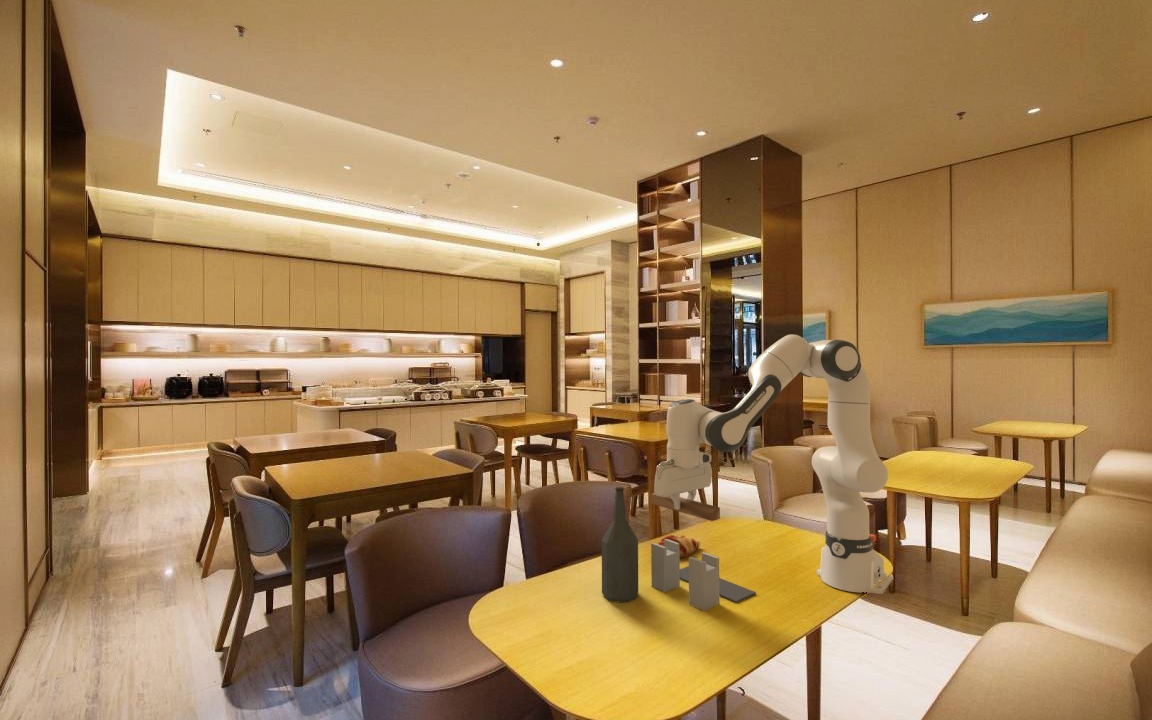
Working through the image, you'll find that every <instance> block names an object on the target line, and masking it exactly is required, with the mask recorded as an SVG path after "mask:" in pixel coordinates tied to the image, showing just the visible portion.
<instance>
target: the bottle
mask: <svg viewBox="0 0 1152 720" xmlns="http://www.w3.org/2000/svg"><path fill="white" fill-rule="evenodd" d="M614 489H615V496H614V497H615V498H614V509H613V519H612V521H611V523H610V525H609V527H608V528H607V530H606V532H605V534H604V535H603V537H602V539H601V593H602V595H603V597H605V598H606V599H607V600H608V601H610V600H611V602H615V601H616V602H618V603H628V602H631V601H632V600H636V598H637V597H638V594H639V538H638V537H637V534H636V533H635V531H634V530H633V528H632V527H631V525H630V523H629V522H628V520H627V514H626V513H627V512H626V504H625V503H626V502H625V493H624V490H625V488H624V486H616V487H615V488H614Z"/></svg>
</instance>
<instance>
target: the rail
mask: <svg viewBox="0 0 1152 720" xmlns="http://www.w3.org/2000/svg"><path fill="white" fill-rule="evenodd" d="M650 496H651V505H655V506H659V507H661V508H666V509H668V510H669V509H670V510H672V511H675V512H679V513H682V514H686V515H690V516H693V517H697V518H700V519H703V520H707V521H710V522H714V521H717V520H721V508H720V506H716V505H713V504H708V503H705V502H701V501H696V500H694V501H693V500H689V499H687V498H684V497H681V496H680V497H679V501H680V502H681V503H682V509H679V510H677V509H675V508H674V502H673V500H672V498H671V496H668V497H661V496H657V495H656V494H655V492H652V493H651V495H650Z"/></svg>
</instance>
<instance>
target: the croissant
mask: <svg viewBox="0 0 1152 720" xmlns="http://www.w3.org/2000/svg"><path fill="white" fill-rule="evenodd" d="M664 539H668V540H671V541H674V542H677V543H679V554H680V558H685V557H688V556H690V555H691V554H693V553H694V552H695V551H696V550H698V549H699V548H700V546H701V541H700V540H696V539H694V538H689V537H688V536H686V535H681V536H679V535H677V534H668V535H666V536H664V537H663V538H662V539H661V541H660V542H658V543H657V544H659V545H661V546H664Z"/></svg>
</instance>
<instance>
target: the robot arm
mask: <svg viewBox="0 0 1152 720" xmlns="http://www.w3.org/2000/svg"><path fill="white" fill-rule="evenodd" d="M798 374H800V375H801V376H803V377H807V378H814V379H815V378H816V379H825V380H826V382H827V385H828V397H827V428H828V430H829V432H830V433H831V435H832V436H833V438H834V443H835V445H827V446H822V447H819V448H818V449H816V450H815V452H814V453H813V454H812V457H811V466H812V467H811V468H813V469H812V470H813V471H814V472H815V473H816V475H817V477H818V480H819V482H820V485H821V489H822V493H823V496H824V497H823V498H824V499H825V500H824V501H825V506H826V507H825V508H826V531H825V535H824V539H825V543H824V544H825V545H824V546H823V547H821V552H820V553H821V556H820V567H819V568H817V569H816V574H817V575H818V576H819V577H821V579H820V580H822V581H823V583H825V584H826V585H828V586H829V587H832V588H835V589H838V590H841V591H846V592H850V593H861V594H863V593H862V592H864V593H866V592H867V593H870V594H879V595H882V594H884V593H885V592H886V590H887V589H888V587H889V585H891V583H892V581H893V580H894V576H893V574H891V573H890V574H891V575H890V576H889V577H887V576H886V575H887V573H886V572H887V571H886V570H885V561H884V558H883V557H882V555H880V554H879V552H877V551H876V550H875V549H874V545H873V543H874V542H876V540H877V536H876V534H873V533H872V534H871V533H870V511H869V507H868V505H867V504H866V503H865V501H864V499H863V498H862V495H861V493H871V494H873V493H877V492H880V491H881V490H883V488H885V486H886V485H887V482H888V479H889V472H888V469H887V466H886V465H885V463H884V462H883V461H882V460H881V458H880V456H879V454H878V452H877V450H876V446H875V445H874V440H873V437H872V436H873V435H872V432H871V431H872V430H871V389H870V380H869V376H868V373H867V370H865V368H863V367H862V362H861V355H860V352H859V350H858V348H857V347H856V345H854V344H853V343H852V342H850V341H847V340H843V339H822V340H818V341H811V342H810V341H809V342H808V341H807V340H806V339H805V338H803V337H802V336H800V335H798V334H787V335H785V336H783V337H782V338H780V339H778V340H777V341H776V342H774V343H773V344H772V345H770V346H769V347H767V348H766V349H765V350H764V351H763V352H762V353H761V354H759V356H757V357H756V359H755V360H754V361H753V363H751V366H749V368H748V381H749V383H750V384H751V389H750V390H749V392H747V394H746V395H745V396H744V397H743V398H742V399H741V400H740V401H739V402H738V403H737V404H736V406H734V408H732V409H731V410H729V411H726V412H721V411H719V410H718V411H717V410H714V409H711V408H708V407H706V406H704V405H702V404H700V403H699V402H697V401H696V400H695V399H692V398H691V399H689V398H685V399H679V400H675V401H673V402H672V403H670V404H669V406H668V408H667V413H666V435H667V444H666V461H661V462H659V464H658V465H657V466H656V469H655V475H654V484H653V486H654V488H653V491H654V492H653V493H655V494H656V495H657V496H661V497H668V496H671V498H672V500H673V502H674V508H675V509H677V510H679V509H682V503H681V502H680V501H679V497H681V494H684V493H687V498H686V499H689V500H693V501H695V497H696V495H697V490H700V489H705V488H709V487H710V486H711V484H712V480H713V478H712V476H713V473H712V472H713V471H712V464H711V462H712V454H709V453H706V452H703V451H700V445H701V444H706V445H708V446H711V447H712V448H714V449H716V450H717V451H719V452H722V453H731V452H734V451H737V450H738V449H740V447H742V446H743V444H744V443H745V441H746V440H747V437H748V435H749V432H750V430H751V429H752V427H753V425H754V424H755V423H756V422H757V420H759V419H760V418H761V416H763V414H764V413H765V412H766V411H767V409H769V407H770V406H771V405H772V404H773V403H774V401H775V400H776V399H777V397H779V395H780V393H781V391H782V390H783V389H784V388H785V387H787V386H788V385H789V384H790V382H792V380H793V379H795V377H796V376H797V375H798ZM884 572H885V573H884ZM885 578H886V580H885V581H883V580H884V579H885ZM879 580H881V581H879ZM880 582H882V583H881V584H879V583H880ZM874 584H875V585H874ZM877 584H879V585H878V586H876V585H877ZM874 586H876V587H875V588H873V587H874ZM872 588H873V589H872ZM869 590H870V591H869Z"/></svg>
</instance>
